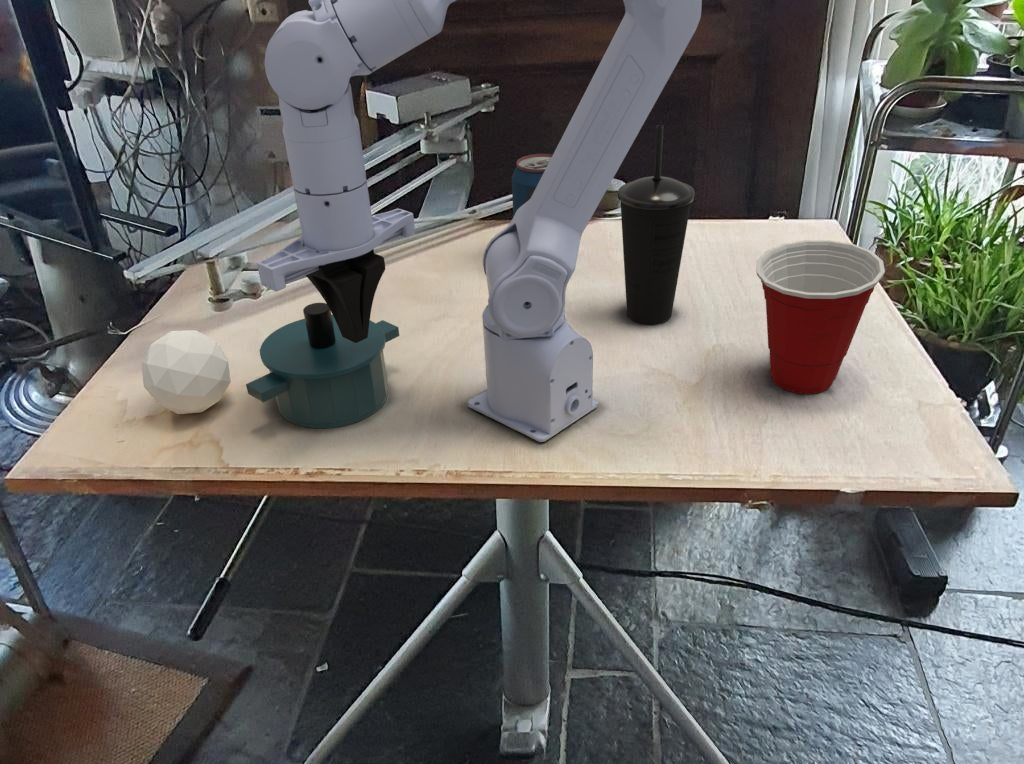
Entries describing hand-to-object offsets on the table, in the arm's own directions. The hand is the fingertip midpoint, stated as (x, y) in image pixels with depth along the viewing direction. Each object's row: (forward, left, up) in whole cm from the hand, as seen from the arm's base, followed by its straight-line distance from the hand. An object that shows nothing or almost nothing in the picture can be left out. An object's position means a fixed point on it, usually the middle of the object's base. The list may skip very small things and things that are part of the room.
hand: (355, 337), depth 78 cm
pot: (+5, 0, -8) cm, 10 cm away
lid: (+5, 0, -3) cm, 6 cm away
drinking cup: (-8, -33, -9) cm, 35 cm away
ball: (+14, +10, -9) cm, 19 cm away
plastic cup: (-27, -31, -9) cm, 42 cm away
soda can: (+11, -37, -9) cm, 39 cm away
